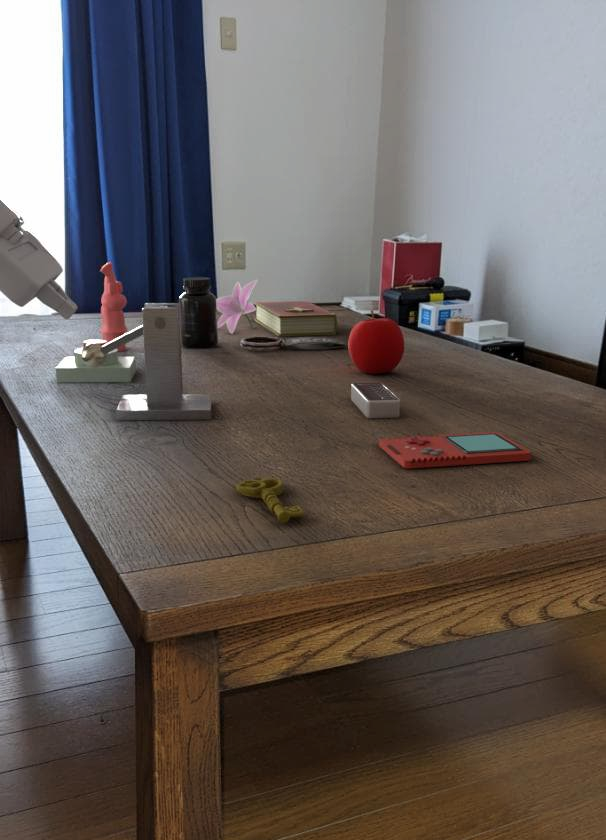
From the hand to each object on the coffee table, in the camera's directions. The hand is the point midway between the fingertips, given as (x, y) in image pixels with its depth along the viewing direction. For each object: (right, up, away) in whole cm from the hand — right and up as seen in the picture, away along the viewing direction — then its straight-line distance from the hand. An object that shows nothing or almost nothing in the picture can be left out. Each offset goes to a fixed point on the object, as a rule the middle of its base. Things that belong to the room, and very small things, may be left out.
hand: (73, 314), depth 115 cm
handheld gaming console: (+47, -19, -12) cm, 52 cm away
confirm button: (-3, 0, +24) cm, 24 cm away
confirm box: (-3, -3, +25) cm, 25 cm away
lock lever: (+7, -4, +1) cm, 9 cm away
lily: (+16, +14, +68) cm, 71 cm away
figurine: (-4, +5, +46) cm, 47 cm away
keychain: (+27, +6, +50) cm, 57 cm away
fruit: (+41, -2, +30) cm, 51 cm away
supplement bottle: (+10, +7, +51) cm, 53 cm away
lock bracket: (+11, -12, +5) cm, 17 cm away
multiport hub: (+39, -11, +8) cm, 42 cm away
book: (+28, +15, +72) cm, 79 cm away
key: (+26, -26, -29) cm, 46 cm away
